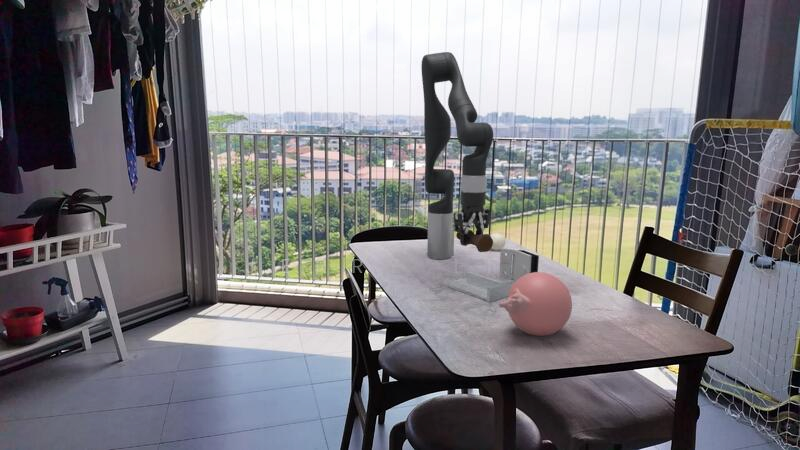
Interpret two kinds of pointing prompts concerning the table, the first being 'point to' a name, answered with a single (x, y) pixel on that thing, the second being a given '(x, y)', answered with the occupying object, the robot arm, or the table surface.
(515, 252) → the hinge
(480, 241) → the bolt
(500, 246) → the white ball
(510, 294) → the balloon
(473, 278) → the tray
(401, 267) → the table surface
